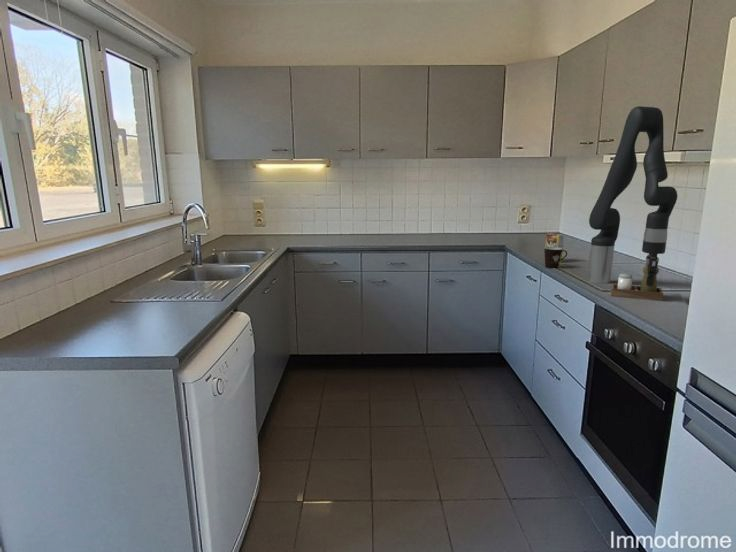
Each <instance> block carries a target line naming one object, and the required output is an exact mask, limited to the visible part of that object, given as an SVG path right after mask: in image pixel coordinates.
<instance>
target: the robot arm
mask: <svg viewBox="0 0 736 552" xmlns="http://www.w3.org/2000/svg"><path fill="white" fill-rule="evenodd" d="M640 133H646V134H647V138H648V146H647V148H646V151H645V154H644V157H643V161H642V162H643V170H644V176H645V183H644V184H645V185H644V192H643V199H644V202H645V203H646V204H647V205H648V206H651V207H656V206H658V208H657V209H656V210H655V211H651V212H648V214H647V216H646V221H645V228H644V229H645V230H644V231H643V232H644V233H643V239H642V246H641V251H642V252H643V253H644V254H645V253H646V254H647V256H646V257H645V266H647V267H646V269H647V270H648V273H647V283H646V284H647V285H648V286H653V283H654V276H656V270H657V267H658V265H659V262H660V259H659V257H658V255H664V254H666V253H665V252H666V248H667V240H668V226H669V221H670V216H671V215H672V212H673V210H674V208H675V206H676V203H677V200H678V191H677V188H675V187H674V186H659V183H661V182H664V181H666V180H667V179H668V178H669V177H668V175H669V174H668V169H667V164H666V159H665V153H664V150H665V148H664V141H665V140H664V138H665V137H664V114H663V111H662V110H661V108H659V107H654V106H635V107H633V108H632V109H631V110H630V111H629V113H628V115H627V117H626V120H625V123H624V127H623V131H622V134H621V138H620V141H619V144H618V147H617V150H616V153H615V156H614V157H613V161H612V163H611V165H610V168H609V170H608V173H607V176H606V179H605V181H604V185H603V186H602V189H601V191H600V194H599V196H598V198H597V200H596V202H595V203H594V206H593V207H592V210H591V212H590V215H589V218H588V219H589V220H588V222H589V223H588V224H589V226H590V228H591V229H593V230H596V231H597V230H599V233H598V234H597V235H595V236H594V237H592V238H591V241H590V252H589V261H588V272H587V279H586V280H587V282H590V283H594V284H595V283H596V284H610V283H611V280H612V279H611V278H612V273H613V272H612V270H613V261H614V254H615V253H614V252H615V246H616V245H615V243H616V241H617V239H618V236H619V235H618V234H619V229H620V223H621V215H620V212H619V210H618V209H617V208H614V207H612V205H613V203H614V202H615V201H616V200H617V198H618V197H619V196H620V195H621V194H622V193H623V192H624V191H625V190H626V188H628V187H629V185H630V184H631V182H632V180H633V178H634V176H635V173H636V171H637V168H638V161H637V154H636V142H637V139H638V136H639V135H640ZM645 266H644V267H645ZM650 270H654V272H650Z"/></svg>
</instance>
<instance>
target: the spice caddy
mask: <svg viewBox="0 0 736 552" xmlns="http://www.w3.org/2000/svg"><path fill="white" fill-rule="evenodd" d="M617 287H618V283H611V285H610V297H612V298H613V297H614V298H623V299H625V298H626V299H636V300H645V301H657V302H663V299H664V295H665V293H664V291H663V290H662V287H657V292H647V291H639V290H640V287H641V285H632V287H631V290H625V289H617Z"/></svg>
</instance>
